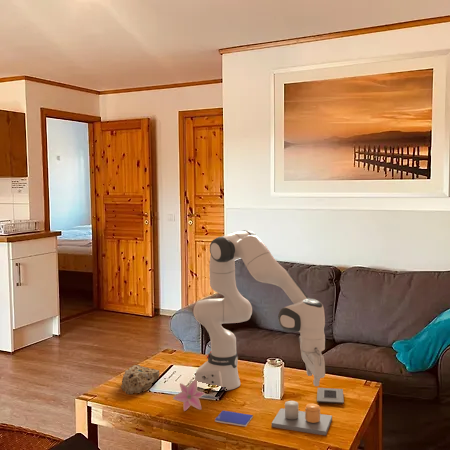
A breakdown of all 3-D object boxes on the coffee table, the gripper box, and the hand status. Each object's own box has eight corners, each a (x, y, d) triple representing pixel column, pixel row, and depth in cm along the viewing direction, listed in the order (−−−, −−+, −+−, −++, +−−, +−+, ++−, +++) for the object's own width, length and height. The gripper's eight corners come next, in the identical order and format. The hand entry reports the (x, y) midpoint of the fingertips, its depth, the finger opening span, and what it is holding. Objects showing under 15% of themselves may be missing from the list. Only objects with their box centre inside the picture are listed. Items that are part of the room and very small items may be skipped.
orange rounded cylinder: (304, 420, 194) (304, 407, 193) (308, 415, 198) (308, 402, 198) (317, 423, 191) (317, 410, 191) (321, 418, 196) (321, 405, 195)
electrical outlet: (343, 407, 210) (343, 401, 210) (316, 405, 212) (316, 399, 212) (342, 393, 223) (342, 388, 222) (317, 392, 225) (317, 387, 224)
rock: (130, 378, 246) (135, 358, 246) (159, 387, 244) (164, 366, 243) (113, 391, 226) (119, 369, 226) (145, 401, 223) (150, 378, 223)
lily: (169, 411, 211) (173, 396, 206) (177, 389, 221) (181, 374, 216) (197, 421, 210) (201, 406, 205) (204, 399, 220) (209, 383, 215)
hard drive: (214, 419, 199) (245, 424, 194) (222, 409, 207) (252, 414, 202) (215, 423, 199) (245, 428, 195) (222, 413, 207) (252, 418, 202)
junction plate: (271, 426, 194) (271, 408, 193) (280, 411, 206) (280, 394, 205) (325, 435, 187) (325, 416, 186) (332, 419, 199) (332, 401, 198)
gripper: (329, 353, 182) (329, 391, 184) (313, 334, 202) (313, 369, 204) (311, 354, 181) (311, 392, 183) (297, 335, 202) (297, 370, 203)
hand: (312, 380), depth 193 cm, fingers open, 8 cm apart
